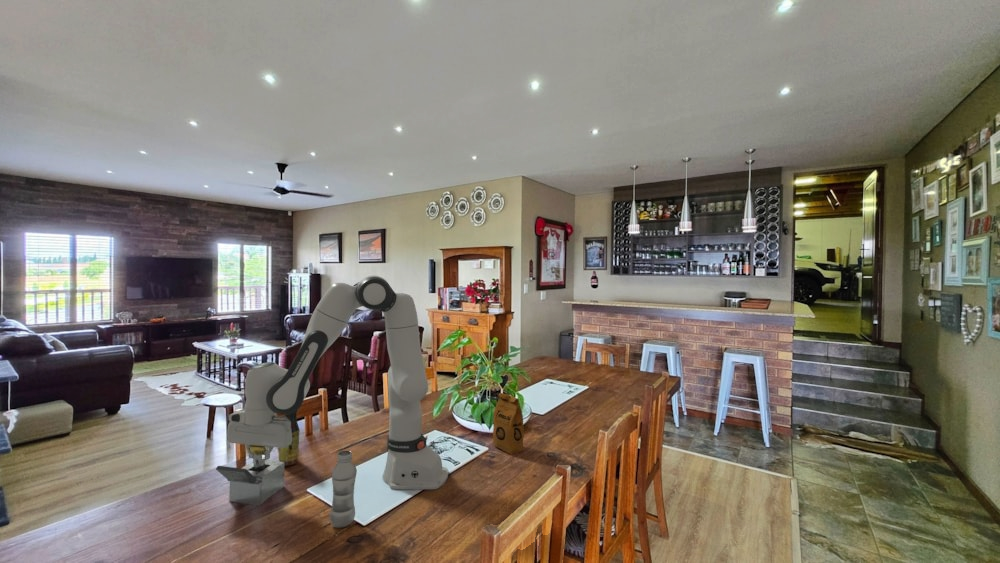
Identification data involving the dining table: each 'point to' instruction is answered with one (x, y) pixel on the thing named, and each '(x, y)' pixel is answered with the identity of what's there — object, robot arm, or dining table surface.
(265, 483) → the grey box-shaped block
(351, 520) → the plastic bottle
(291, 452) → the sauce bottle
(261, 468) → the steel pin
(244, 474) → the dark grey flat plate
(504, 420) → the coffee package
